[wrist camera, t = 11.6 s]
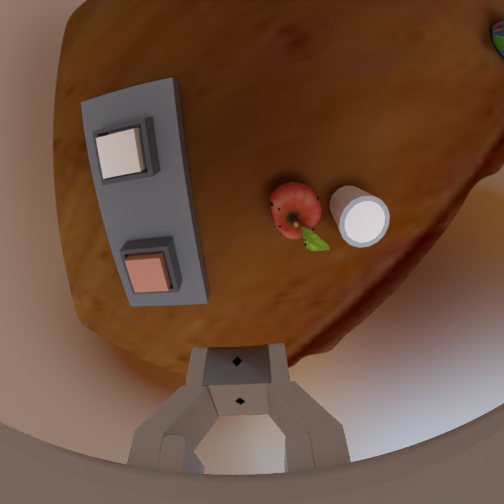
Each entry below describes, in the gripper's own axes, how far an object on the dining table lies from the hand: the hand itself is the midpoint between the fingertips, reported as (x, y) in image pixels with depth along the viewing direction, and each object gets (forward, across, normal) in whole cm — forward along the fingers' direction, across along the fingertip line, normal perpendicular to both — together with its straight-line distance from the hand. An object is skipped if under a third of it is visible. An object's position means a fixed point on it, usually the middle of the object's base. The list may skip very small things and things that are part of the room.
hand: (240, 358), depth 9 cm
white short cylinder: (+31, -14, +6) cm, 35 cm away
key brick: (+27, +14, +11) cm, 32 cm away
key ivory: (+27, +14, -5) cm, 31 cm away
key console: (+31, +14, +3) cm, 34 cm away
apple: (+31, -6, +5) cm, 32 cm away
